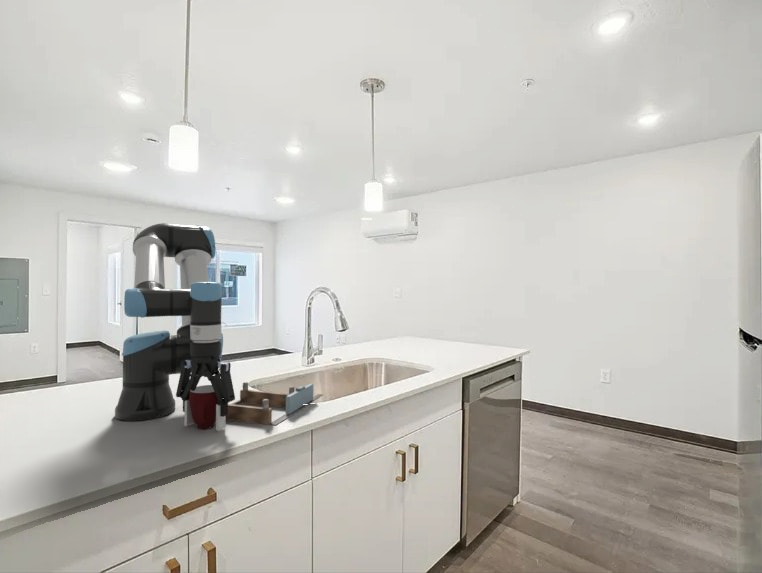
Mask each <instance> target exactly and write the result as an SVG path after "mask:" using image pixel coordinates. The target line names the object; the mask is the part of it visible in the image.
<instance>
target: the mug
mask: <svg viewBox="0 0 762 573" xmlns="http://www.w3.org/2000/svg"><path fill="white" fill-rule="evenodd" d="M189 402H190V408H191V414H192V419H193V421H194V423H193V424H195V426H196V428H198V429H199V430H207V429H212V428H213V427H214V426H215V425H216V405H217V404H218V403H219V401H218V399H217V397H216V394H215V392H214V389H213V387H212V384H206V385H204V384H203V385H197V387H196V389H195V391H192V390H191V389H190V392H189Z"/></svg>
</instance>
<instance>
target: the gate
mask: <svg viewBox="0 0 762 573" xmlns="http://www.w3.org/2000/svg"><path fill="white" fill-rule="evenodd" d="M313 397H314V383H309V384H307V385H299V386H297V387H295V390H294V392H293V393H291V394H290V395H288V396H286V408H285V414H290V413H292V412H294V411H295V410H297V409H298V408H300V407H302V406H303V404H306V403H308V402H310V401H311V400H313Z"/></svg>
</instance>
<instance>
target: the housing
mask: <svg viewBox="0 0 762 573" xmlns="http://www.w3.org/2000/svg"><path fill="white" fill-rule="evenodd" d="M293 392H295V386H291V385H290V386H288V393H283V392H272V391H265V390H252V389H249V381H243V382H242V389H240V391H239V400H237V401H233V402H232V403H228V414H227V415H226V420H228V421H237V422H243V423H253V424H262V425H270V426H274V427H275V426H277V425H279V424H280V423H282V422H284V421H285V420H287V419H288V418H289V417H292V416H293V415H294V413H295V414H296V413H297V412H299V411H301V410H303V408H306V407H307V406H308V405H303V406H302V407H300V408H298V409H297V410H295V411H294V412H292V413H290V414H286V413H285V414H283V415H282V416H279V417H278V418H276V419H275V420H273V421H272V419H273V417H272V415H273V412H272V411H273V410H272V409H273V408H270V407H274V408H285V409H286V396H288V395H290V394H291V393H293ZM323 396H324V394H320V393H318V394H315V395H313V400H311V401H310V402H308V403H306V404H309V405H310V404H312V403H313V402H315V401H317V400H318V399H320V398H321V397H323ZM242 404H249V405H242ZM253 405H257V406H253ZM260 406H262V407H260ZM305 406H306V407H305Z"/></svg>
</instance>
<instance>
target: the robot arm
mask: <svg viewBox="0 0 762 573" xmlns="http://www.w3.org/2000/svg"><path fill="white" fill-rule="evenodd" d="M216 250H217V249H216V239H215V235H214V233H213V231H212V229H211V228H210V227H207V226H201V225H189V224H188V225H186V224H175V223H156V224H155V223H154V224H153V225H150V226H148V227H146V228H144V229H143V230H141V231H140V232H139V233H137V235H136V236H135V238H134V240H133V242H132V252H133V253H132V254H133V255H134V257H135V263H134V264H135V267H134V269H135V270H134V283H133V284H134V287H133V288H128V289H126V290H125V291H124V299H123V300H124V302H123V303H124V308H123V310H124V314H125V316H126V317H129V318H141V319H142V318H155V317H158V318H159V317H181V326H180V327H178V329H177V331H176V334H175V335H171V333H170V331H169V330H158V331H157V330H156V331H150V332H143V333H139V334H134V335H131V336H129V337H127V338H125V340H124V342H123V347H122V353H121V356H122V387H121V388H122V389H121V393H120V396H119V398H118V401H117V405H116V406H115V409H114V418H115V419H116V420H119V421H123V422H125V421H126V422H137V421H138V422H139V421H144V420H145V421H146V420H152V419H157V418H160V417H163V416H166V415H169V414H171V413H173V412H175V410H176V400H175V398H174V396H173V393H172V389H171V386H170V376H171V375H179V379H178V384H177V388H176V393H175V396H176V398H180V399H181V400H182V412H183V413H184V425H183V426H184V427H188V426H190V425H193V424H195V423H194V421H193V419H192V414H191V408H190V402H189V392H190V389H191V390H192V391H195V389H196V387H198V386H199V385H198V384H199V382H200V380H201V378H203V377H204V378H207V380H208V381H209V382H210V385H212V387H213V389H214V392H215V394H216V397H217V399H218V401H219V403H218V404H217V405H216V422H215V430H216V431H220V430H222V429H224V428H226V424H227V423H226V420H227V419H226V415H227V414H228V404H229V403H231V402H232V401H233V402H234V401H235V399H236V395H235V391H234V390H235V389H234V385H233V380H232V374H231V366H232V364H231V362H222V356H223V347H224V335H223V333H222V298H223V290H222V284H221V283H220V282H218V281H217V282H215V281H209V271H208V265H210V263H211V262H212V260H213V259H214V258H215V257H216V253H217V252H216ZM164 258H174V261H175V264H176V265H178V266H179V271H180V272H179V275H180V277H179V278H180V281H179V282H180V288H166V286H165V285H166V282H165V281H166V280H165V260H164Z"/></svg>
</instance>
